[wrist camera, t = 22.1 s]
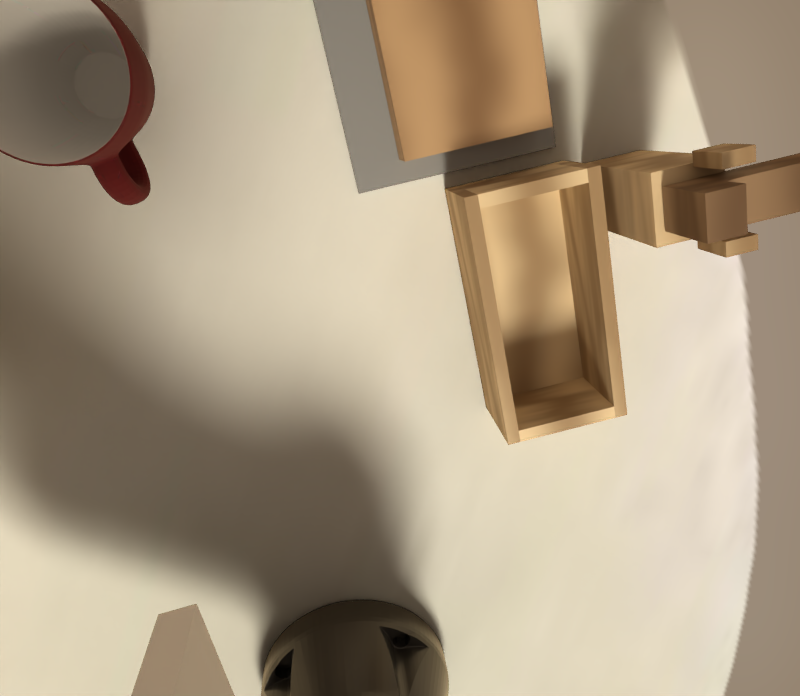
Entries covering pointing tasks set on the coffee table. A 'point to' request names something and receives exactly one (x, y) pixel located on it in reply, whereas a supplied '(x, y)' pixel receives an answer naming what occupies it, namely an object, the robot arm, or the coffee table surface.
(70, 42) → the mug
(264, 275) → the coffee table surface
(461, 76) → the lid
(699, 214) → the key
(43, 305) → the coffee table surface
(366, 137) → the mat
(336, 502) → the coffee table surface
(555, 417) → the open wooden box
